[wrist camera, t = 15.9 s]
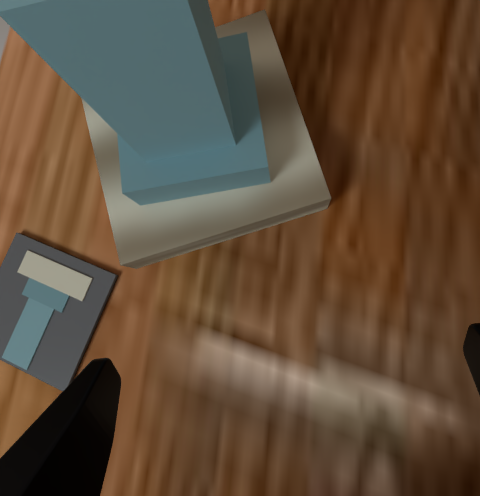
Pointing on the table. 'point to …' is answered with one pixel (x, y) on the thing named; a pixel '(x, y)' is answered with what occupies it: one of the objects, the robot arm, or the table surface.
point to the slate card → (48, 309)
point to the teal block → (156, 89)
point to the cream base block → (230, 201)
